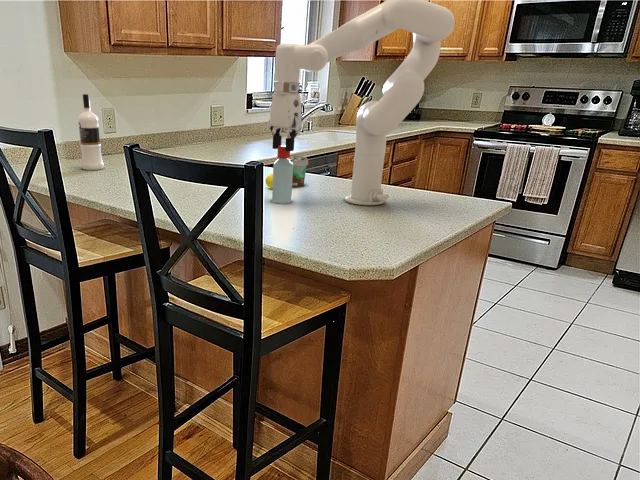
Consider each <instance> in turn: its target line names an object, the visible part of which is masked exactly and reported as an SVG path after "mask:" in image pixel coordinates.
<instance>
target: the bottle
mask: <svg viewBox="0 0 640 480" xmlns="http://www.w3.org/2000/svg"><path fill="white" fill-rule="evenodd" d="M277 158H278V157H277ZM290 160H291V159H290V158H278V159H277V160H275V162H274V163H273V164H272V165H273V166H272V174H273V189H272V188H271V189H272V191H271V192H272V193H271V203H274V204H283V205H284V204H285V205H286V204H291V203H292V195H293V187H292V178H293V163H291V161H290Z"/></svg>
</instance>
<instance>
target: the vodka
mask: <svg viewBox="0 0 640 480" xmlns="http://www.w3.org/2000/svg"><path fill="white" fill-rule="evenodd" d="M82 102H83V103H82V104H83V111H82V112H81V113H80V114H79V115H78V117H77V122H78V123H77V124H78V130H79V131H78V132H79V140H80V145H79V146H80V150H81V163H80V164H81V168H82V169H83V170H84V171H99V170H102V169H104V167H105V165H104V161H103V155H102V148H101V146H102V144H101V138H100V124H99V117H98V116H97V114H95V113H94V112H92V111H91V101H90V94H87V93H83V94H82Z"/></svg>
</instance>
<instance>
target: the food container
mask: <svg viewBox="0 0 640 480" xmlns="http://www.w3.org/2000/svg"><path fill="white" fill-rule="evenodd" d="M289 160H290V161H291V163H293V178H292V188H302V187H304V186H305V180H306V173H307V166H308V165H309V160H308V158H307V157H306V156H300V155H293V159H292V160H291V159H289Z"/></svg>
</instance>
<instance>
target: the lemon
mask: <svg viewBox="0 0 640 480" xmlns="http://www.w3.org/2000/svg"><path fill="white" fill-rule="evenodd" d="M265 184H266V186H267V187H268V188H270V189H273V173H270V174H268V175H266V178H265Z"/></svg>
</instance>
